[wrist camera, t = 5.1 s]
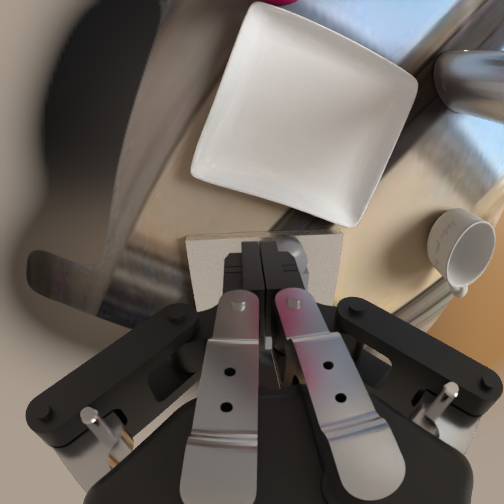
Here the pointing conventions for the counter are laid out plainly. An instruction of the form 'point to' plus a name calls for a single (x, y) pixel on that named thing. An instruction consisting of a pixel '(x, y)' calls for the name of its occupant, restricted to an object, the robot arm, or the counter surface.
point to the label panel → (220, 245)
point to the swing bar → (301, 259)
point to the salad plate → (303, 117)
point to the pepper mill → (280, 2)
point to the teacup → (460, 248)
